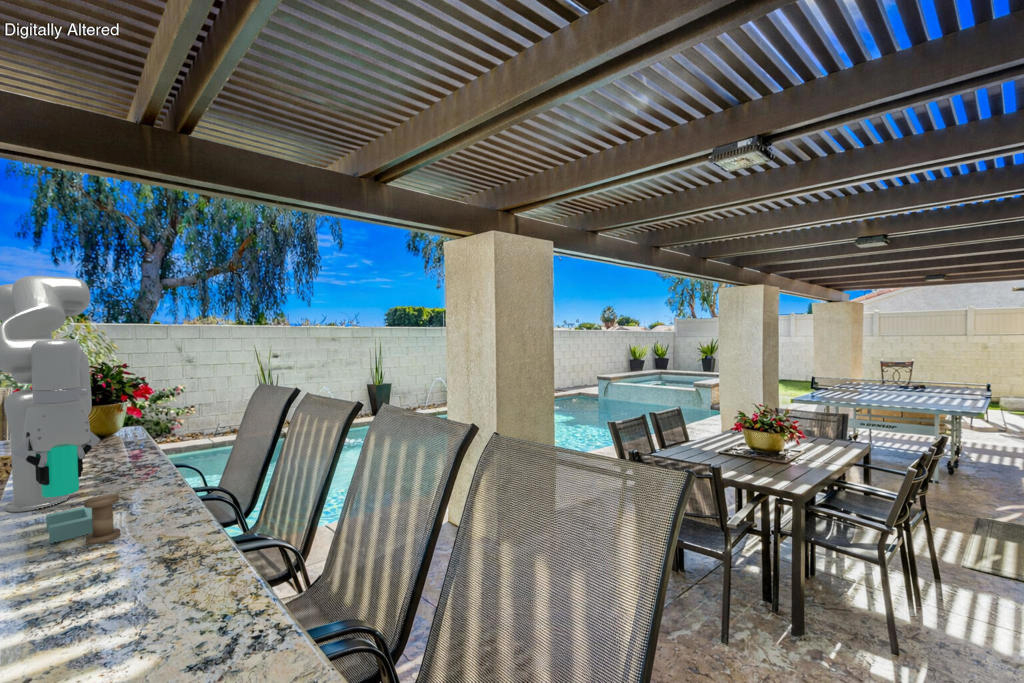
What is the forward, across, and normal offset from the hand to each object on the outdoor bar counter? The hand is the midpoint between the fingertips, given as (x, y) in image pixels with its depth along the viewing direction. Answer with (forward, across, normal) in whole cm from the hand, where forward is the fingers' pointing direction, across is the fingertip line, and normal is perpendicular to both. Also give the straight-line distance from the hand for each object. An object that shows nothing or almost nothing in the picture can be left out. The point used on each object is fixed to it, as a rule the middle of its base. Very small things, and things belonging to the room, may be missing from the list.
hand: (60, 479), depth 106 cm
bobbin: (+14, -6, +4) cm, 16 cm away
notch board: (+15, -6, -8) cm, 17 cm away
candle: (+3, 0, 0) cm, 3 cm away
